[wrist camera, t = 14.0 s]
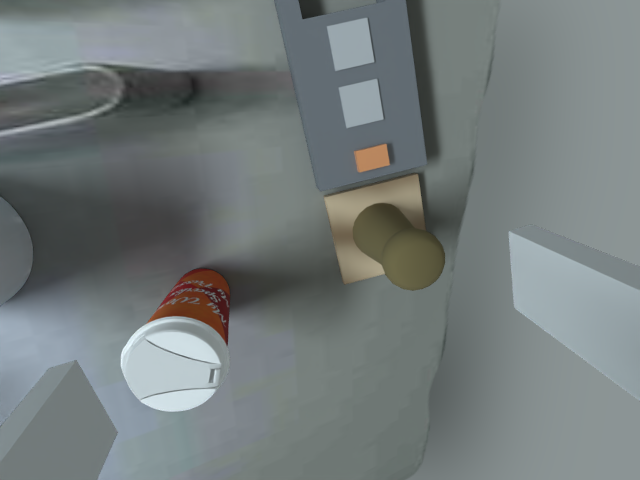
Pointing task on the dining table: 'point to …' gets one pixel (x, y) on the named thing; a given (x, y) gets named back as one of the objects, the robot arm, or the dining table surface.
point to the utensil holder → (13, 252)
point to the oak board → (353, 202)
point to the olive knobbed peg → (399, 246)
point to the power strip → (355, 90)
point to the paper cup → (182, 345)
